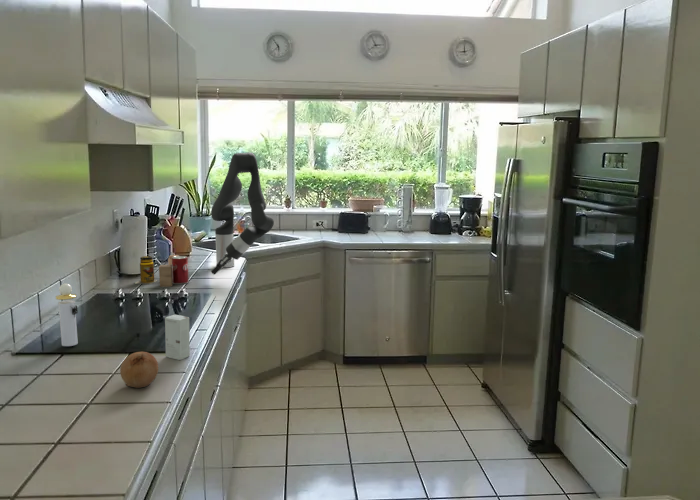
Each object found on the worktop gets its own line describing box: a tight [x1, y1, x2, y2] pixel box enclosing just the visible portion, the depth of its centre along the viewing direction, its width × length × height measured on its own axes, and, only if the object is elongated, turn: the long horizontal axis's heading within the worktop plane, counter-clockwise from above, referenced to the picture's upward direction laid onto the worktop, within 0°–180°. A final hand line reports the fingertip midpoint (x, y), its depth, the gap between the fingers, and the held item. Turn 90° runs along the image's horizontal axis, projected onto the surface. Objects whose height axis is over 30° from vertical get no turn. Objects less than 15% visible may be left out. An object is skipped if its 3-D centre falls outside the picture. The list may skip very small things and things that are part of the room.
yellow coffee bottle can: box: [135, 255, 159, 285], centre depth 279 cm, size 7×8×12 cm
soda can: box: [171, 255, 190, 285], centre depth 278 cm, size 7×7×12 cm
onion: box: [119, 351, 159, 389], centre depth 157 cm, size 10×9×10 cm
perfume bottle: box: [55, 282, 79, 347], centre depth 187 cm, size 6×6×20 cm
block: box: [158, 264, 174, 288], centre depth 272 cm, size 5×5×9 cm
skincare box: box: [164, 314, 191, 361], centre depth 178 cm, size 6×4×12 cm
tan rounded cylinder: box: [167, 254, 180, 265], centre depth 286 cm, size 6×6×11 cm
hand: (213, 273), depth 277 cm, fingers closed
